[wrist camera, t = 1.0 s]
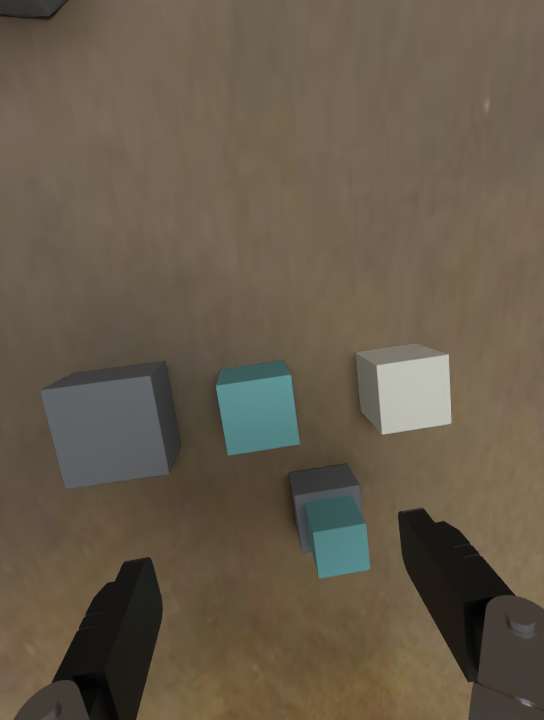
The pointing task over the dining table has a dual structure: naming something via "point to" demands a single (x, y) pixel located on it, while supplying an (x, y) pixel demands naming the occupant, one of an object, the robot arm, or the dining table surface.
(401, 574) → the dining table surface
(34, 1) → the coffeepot
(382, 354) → the cream block
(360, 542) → the stack
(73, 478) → the charcoal block
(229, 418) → the teal block
